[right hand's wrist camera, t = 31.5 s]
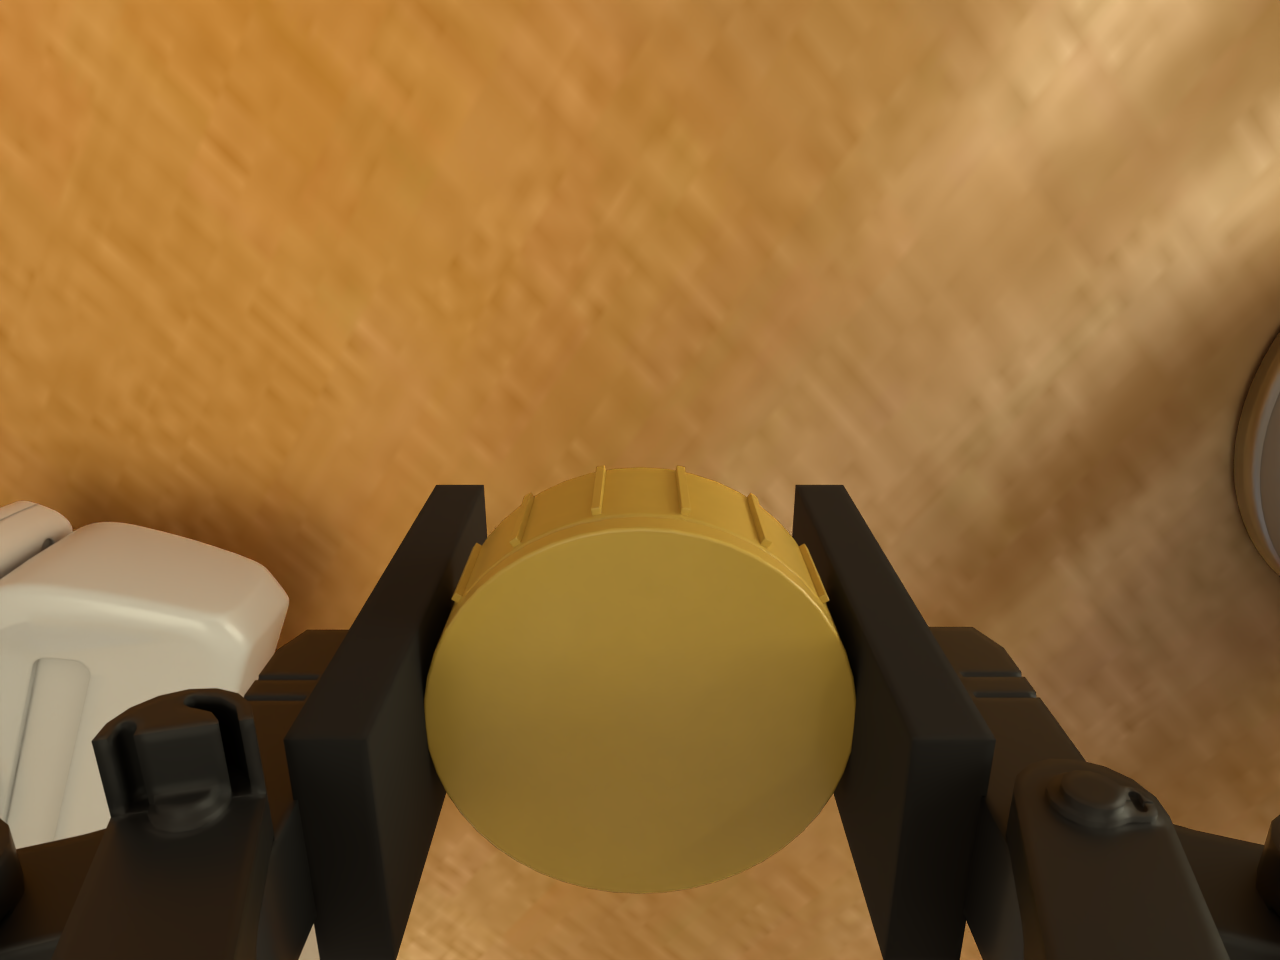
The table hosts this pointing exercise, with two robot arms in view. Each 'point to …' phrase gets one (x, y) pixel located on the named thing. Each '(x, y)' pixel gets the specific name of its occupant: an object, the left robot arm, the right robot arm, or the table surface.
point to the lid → (640, 684)
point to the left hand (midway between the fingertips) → (341, 895)
